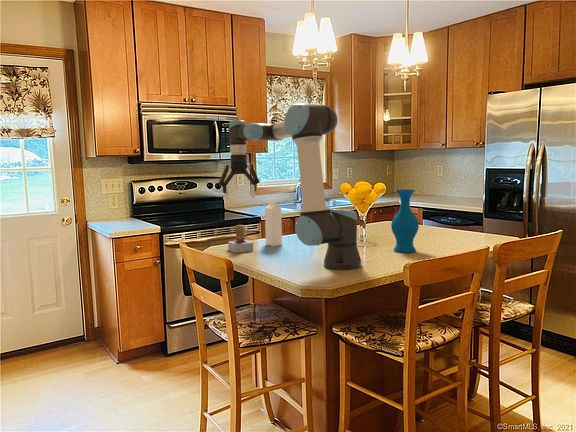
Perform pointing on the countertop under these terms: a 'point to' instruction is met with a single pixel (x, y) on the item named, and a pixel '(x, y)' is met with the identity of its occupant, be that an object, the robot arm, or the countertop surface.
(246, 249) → the socket block
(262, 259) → the countertop surface
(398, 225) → the vase
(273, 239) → the milk
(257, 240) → the countertop surface
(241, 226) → the peg
